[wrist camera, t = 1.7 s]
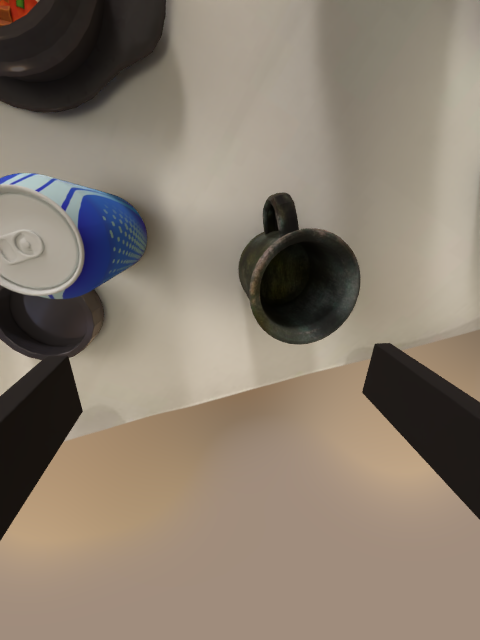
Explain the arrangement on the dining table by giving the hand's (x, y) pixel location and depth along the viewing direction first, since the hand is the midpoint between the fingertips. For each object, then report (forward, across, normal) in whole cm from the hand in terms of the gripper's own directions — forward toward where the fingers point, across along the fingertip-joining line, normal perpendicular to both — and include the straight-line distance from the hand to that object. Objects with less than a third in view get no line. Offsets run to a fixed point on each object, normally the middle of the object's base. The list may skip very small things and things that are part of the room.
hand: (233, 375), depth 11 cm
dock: (+24, -20, -5) cm, 32 cm away
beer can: (+24, -12, +5) cm, 28 cm away
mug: (+24, +8, +2) cm, 26 cm away
